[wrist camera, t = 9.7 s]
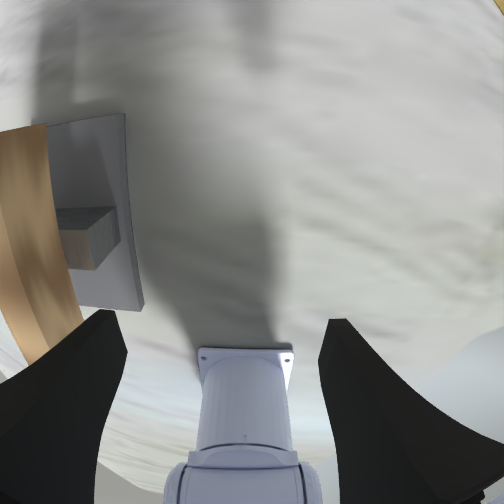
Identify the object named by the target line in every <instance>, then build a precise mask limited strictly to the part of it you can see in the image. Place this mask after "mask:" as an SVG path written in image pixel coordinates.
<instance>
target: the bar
mask: <svg viewBox="0 0 504 504" xmlns="http://www.w3.org/2000/svg"><path fill="white" fill-rule="evenodd" d="M0 310H1V312H2V314H3V316H4V319H5V321H6V323H7V325H8V327H9V329H10V331H11V333H12V335H13V337H14V339H15V341H16V343H17V345H18V347H19V349H20V351H21V352H22V354H23V356H24V358H25V360H26V361H27V363H28V365H29V366H30V365H31V364H32V363H34V362H35V361H36V360H38V359H39V358H40V357H41V356H43V355H44V354H45V353H46V352H48V351H49V350H50V349H52V348H53V347H54V346H55V345H57V344H58V343H59V342H60V341H61V340H63V339H64V338H65V337H66V336H67V335H68V334H70V333H71V332H72V331H73V330H74V329H76V328H77V327H78V326H79V325H80V324H82V323H83V322H84V319H83V317H82V314H81V311H80V308H79V305H78V302H77V298H76V295H75V292H74V289H73V285H72V282H71V278H70V275H69V271H68V267H67V264H66V260H65V256H64V251H63V247H62V243H61V238H60V234H59V229H58V224H57V218H56V213H55V207H54V201H53V194H52V187H51V179H50V171H49V161H48V148H47V131H46V123H45V124H39V125H33V126H27V127H22V128H17V129H12V130H7V131H3V132H0Z"/></svg>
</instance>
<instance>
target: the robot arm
mask: <svg viewBox="0 0 504 504" xmlns="http://www.w3.org/2000/svg"><path fill="white" fill-rule="evenodd" d="M127 353H128V351H127V348H126V346H125V343H124V340H123V336H122V333H121V330H120V327H119V324H118V321H117V317H116V314H115V311H113V310H104V309H99V310H98V311H96V312H95V313H94V314H92V315H91V316H90V317H89V318H88V319H86V320H85V321H84V322H83V323H82V324H80V325H79V326H78V327H77V328H76V329H74V330H73V331H72V332H71V333H70V334H68V335H67V336H66V337H65V338H64V339H63V340H61V341H60V342H59V343H58V344H57V345H55V346H54V347H53V348H52V349H50V350H49V351H48V352H46V353H45V354H44V355H43V356H41V357H40V358H39V359H38V360H36V361H35V362H34V363H32V364H31V365H30V366H28V367H27V368H25V369H24V370H22V371H21V372H19V373H18V374H16V375H15V376H13V377H11V378H10V379H8V380H6V381H5V382H3V383H1V384H0V504H94V487H95V473H96V465H97V458H98V452H99V446H100V441H101V436H102V432H103V428H104V425H105V422H106V419H107V416H108V414H109V411H110V408H111V405H112V402H113V400H114V397H115V394H116V391H117V389H118V386H119V383H120V380H121V378H122V374H123V370H124V366H125V362H126V357H127ZM293 358H294V353H293V351H292V350H255V349H222V348H200V349H199V350H198V360H199V368H200V376H201V383H202V390H203V398H202V405H201V413H200V421H199V429H198V437H197V445H196V451H190V452H189V456H188V463H186V462H181V463H179V464H177V465H176V467H175V468H174V469H172V470H171V471H170V473H169V475H168V477H167V480H166V483H165V488H164V496H163V504H323V503H322V492H321V486H320V481H319V477H318V474H317V471H316V470H315V469H314V468H313V467H312V466H310V465H309V463H308V462H299V463H298V456H297V451H293V448H292V439H291V429H290V420H289V411H288V402H287V389H288V384H289V379H290V374H291V369H292V364H293ZM318 365H319V374H320V382H321V388H322V392H323V396H324V400H325V404H326V408H327V412H328V416H329V420H330V424H331V428H332V432H333V436H334V441H335V447H336V453H337V462H338V473H339V488H340V504H481V502H480V501H481V500H483V499H484V498H485V495H484V492H483V490H484V489H486V488H487V487H489V486H490V485H492V484H494V483H495V482H497V481H498V480H499V479H501V478H502V477H504V444H502V443H500V442H497V441H495V440H492V439H490V438H488V437H485V436H483V435H481V434H479V433H477V432H475V431H473V430H471V429H469V428H467V427H466V426H464V425H462V424H460V423H459V422H457V421H455V420H454V419H452V418H451V417H449V416H448V415H446V414H445V413H443V412H442V411H440V410H439V409H437V408H436V407H435V406H433V405H432V404H431V403H429V402H428V401H427V400H426V399H424V398H423V397H422V396H421V395H420V394H418V393H417V392H416V391H415V390H414V389H412V388H411V387H410V386H409V385H408V384H407V383H406V382H405V381H404V380H403V379H402V378H401V377H400V376H398V375H397V374H396V373H395V372H394V371H393V370H392V369H391V368H390V367H389V366H388V365H387V364H386V362H385V361H384V360H383V359H382V358H381V357H380V356H379V355H378V354H377V353H376V352H375V351H374V350H373V348H372V347H371V346H370V345H369V344H368V343H367V342H366V341H365V339H364V338H363V337H362V336H361V335H360V334H359V333H358V331H357V330H356V329H355V328H354V327H353V326H352V324H351V323H350V322H349V321H348V320H347V319H329V321H328V325H327V329H326V332H325V336H324V340H323V344H322V347H321V351H320V355H319V358H318ZM484 504H504V492H502V493H501V494H499V495H497V496H496V497H494V498H493V499H491V500H490V501H488V502H486V503H484Z"/></svg>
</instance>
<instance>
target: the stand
mask: <svg viewBox="0 0 504 504" xmlns="http://www.w3.org/2000/svg"><path fill="white" fill-rule="evenodd" d="M46 131H47V148H48V161H49V171H50V179H51V187H52V194H53V201H54V207H55V213H56V218H57V224H58V229H59V234H60V238H61V243H62V247H63V251H64V256H65V260H66V264H67V267H68V271H69V275H70V278H71V282H72V285H73V289H74V292H75V295H76V298H77V302H78V305H81V306H89V307H98V308H107V309H116V310H126V311H137V312H141V310H142V308H143V306H144V299H143V294H142V289H141V283H140V278H139V272H138V266H137V260H136V253H135V246H134V239H133V231H132V223H131V214H130V205H129V194H128V182H127V168H126V148H125V114H115V115H108V116H101V117H95V118H89V119H84V120H78V121H73V122H68V123H63V124H59V125H54V126H50V127H46Z"/></svg>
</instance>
